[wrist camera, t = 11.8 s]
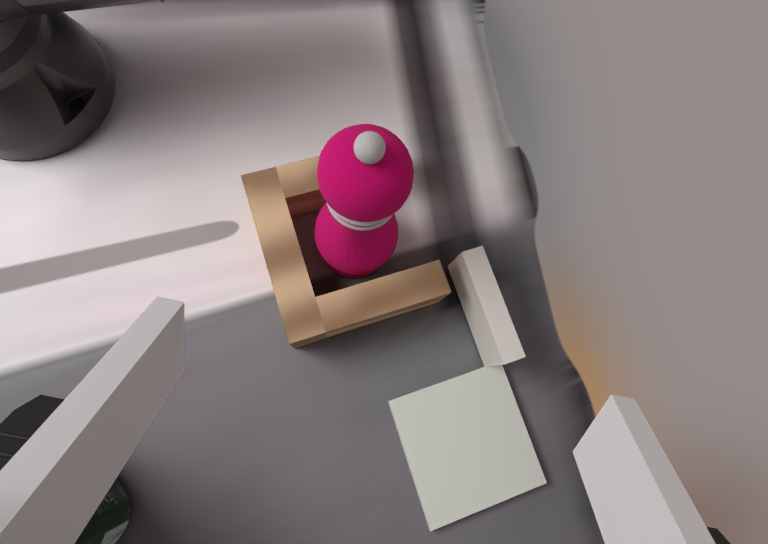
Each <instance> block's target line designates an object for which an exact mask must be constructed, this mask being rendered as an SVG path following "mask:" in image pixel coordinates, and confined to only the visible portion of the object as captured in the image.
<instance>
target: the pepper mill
mask: <svg viewBox="0 0 768 544" xmlns="http://www.w3.org/2000/svg"><path fill="white" fill-rule="evenodd" d="M413 174H414V171H413V163H412V160H411V157H410V154H409V152H408V150H407V148H406V147H405V145H404V144H403V143H402V141H401V140H400V139H399V138H398V137H397V136H396V135H395V134H393V133H392V132H390V131H389V130H387V129H385V128H383V127H379V126H376V125H371V124H359V125H354V126H350V127H348V128H345V129H343V130H341V131H339V132H338V133H336V134H335V135H334V136H333V137H332V138H331V139H330V140H329V141H328V142H327V144H326V145H325V147H324V148H323V150H322V152H321V154H320V157H319V161H318V167H317V180H318V185H319V189H320V191H321V194H322V196H323V198H324V199H325V200H326V203H325V205H324V206H323V207H322V209H321V210H320V212H319V214H318V217H317V219H316V225H315V242H316V245H317V248H318V250H319V252H320V254H321V256H322V257H323V258H324V260H325V262H326V264H327V265H328V266H329V267H330V268H331V269H332V270H333V271H334V272H335V273H337V274H339V275H341V276H343V277H346V278H354V279H356V278H362V277H366V276H368V275H370V274H372V273H374V272H375V271H376V270H377V269H378V268H379V267H381V266H382V265H383V264H385V263H386V262H387V260H388V259H389V258H390V257H391V255H392V254H393V252H394V249H395V247H396V243H397V238H398V226H397V221H396V218H395V215H394V213H395V212H396V211H397V210H399V209H400V208H401V206H402V205H403V204H404V203H405V201H406V200H407V198H408V196H409V194H410V191H411V188H412V183H413Z"/></svg>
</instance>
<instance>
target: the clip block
mask: <svg viewBox="0 0 768 544" xmlns="http://www.w3.org/2000/svg"><path fill="white" fill-rule="evenodd" d="M319 157H320V156H318V157H314V158H310V159H306V160H302V161H298V162H294V163H290V164H286V165H282V166H278V167H274V168H270V169H265V170H261V171H257V172H253V173H249V174H245V175H241V177H242V181H243V184H244V188H245V191H246V195H247V198H248V201H249V205H250V208H251V212H252V215H253V219H254V222H255V226H256V229H257V233H258V236H259V240H260V243H261V247H262V250H263V254H264V257H265V261H266V264H267V268H268V271H269V275H270V278H271V282H272V285H273V289H274V292H275V296H276V299H277V303H278V306H279V309H280V313H281V316H282V320H283V323H284V327H285V330H286V334H287V337H288V341H289V344H290V345H291V346H292V347H294V348H297V347H300V346H304V345H307V344H310V343H313V342H316V341H319V340H322V339H325V338H328V337H332V336H335V335H338V334H341V333H344V332H347V331H350V330H353V329H356V328H360V327H363V326H366V325H369V324H372V323H375V322H378V321H381V320H385V319H388V318H391V317H394V316H397V315H400V314H403V313H406V312H409V311H413V310H416V309H419V308H422V307H425V306H428V305H431V304H434V303H437V302H439V301H440V300H442V299H443V298H444V297H446V296H447V295H448V294H450V293H451V290H450V287H449V284H448V282H447V279H446V276H445V273H444V271H443V268H442V265H441V263H440V260H436V261H433V262H429V263H426V264H423V265H419V266H416V267H413V268H410V269H406V270H403V271H400V272H396V273H393V274H390V275H387V276H383V277H380V278H377V279H373V280H370V281H367V282H363V283H360V284H357V285H354V286H350V287H347V288H344V289H340V290H337V291H334V292H330V293H327V294H324V295H321V296H317V297H315V295H314V291H313V288H312V285H311V282H310V278H309V275H308V272H307V268H306V265H305V262H304V259H303V255H302V252H301V249H300V245H299V242H298V239H297V236H296V232H295V229H294V226H293V223H292V219H291V218H294V217H298V216H302V215H305V214H309V213H313V212H317V211H320V210H321V209H322V207H323V206H324V205H325V203H326V200H325V199H324V198H323V196H322V194H321V191H320V189H319V185H318V180H317V167H318V161H319Z"/></svg>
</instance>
